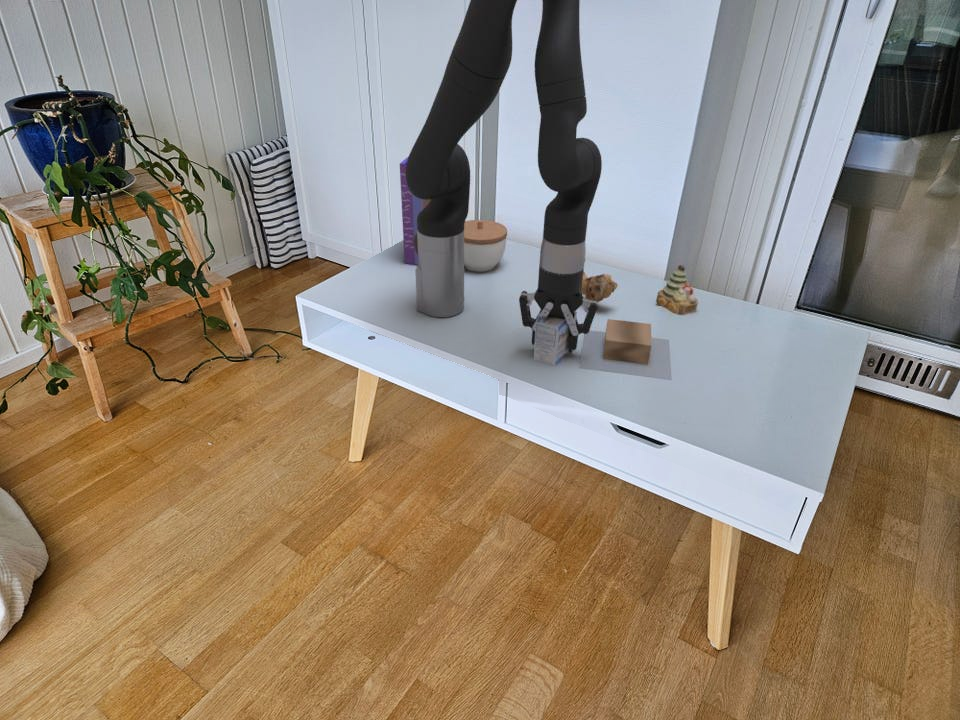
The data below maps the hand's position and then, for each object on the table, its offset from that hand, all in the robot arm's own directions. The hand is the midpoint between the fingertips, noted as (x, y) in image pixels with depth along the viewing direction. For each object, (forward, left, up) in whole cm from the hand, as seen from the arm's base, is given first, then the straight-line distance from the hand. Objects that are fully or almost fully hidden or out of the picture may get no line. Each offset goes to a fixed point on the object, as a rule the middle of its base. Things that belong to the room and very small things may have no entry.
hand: (554, 347), depth 116 cm
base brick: (+13, +4, -1) cm, 14 cm away
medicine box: (0, 0, -2) cm, 2 cm away
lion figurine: (+4, +23, -2) cm, 23 cm away
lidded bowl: (-22, +37, -2) cm, 43 cm away
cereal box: (-37, +42, -2) cm, 56 cm away
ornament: (+23, +25, -2) cm, 34 cm away
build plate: (+13, +3, -2) cm, 14 cm away
